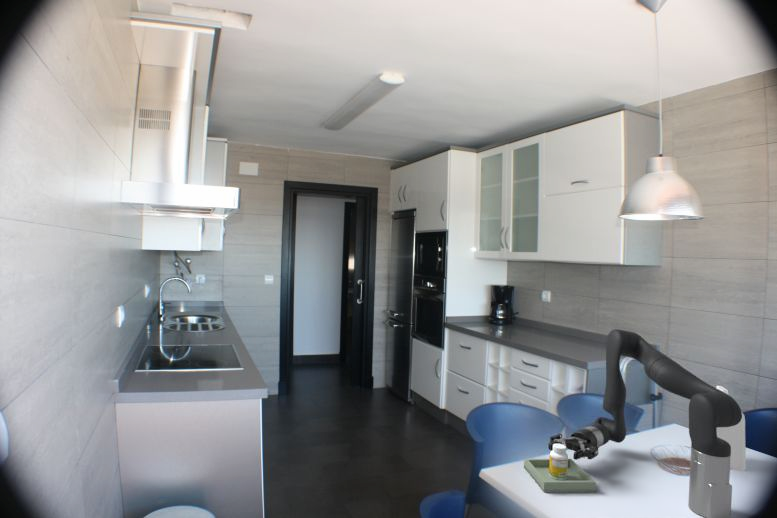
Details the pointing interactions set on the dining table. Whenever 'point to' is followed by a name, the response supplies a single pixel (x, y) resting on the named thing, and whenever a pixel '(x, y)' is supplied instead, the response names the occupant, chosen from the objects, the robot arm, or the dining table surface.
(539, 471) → the tray
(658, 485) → the dining table surface
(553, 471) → the supplement bottle
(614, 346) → the robot arm
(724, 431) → the milk
